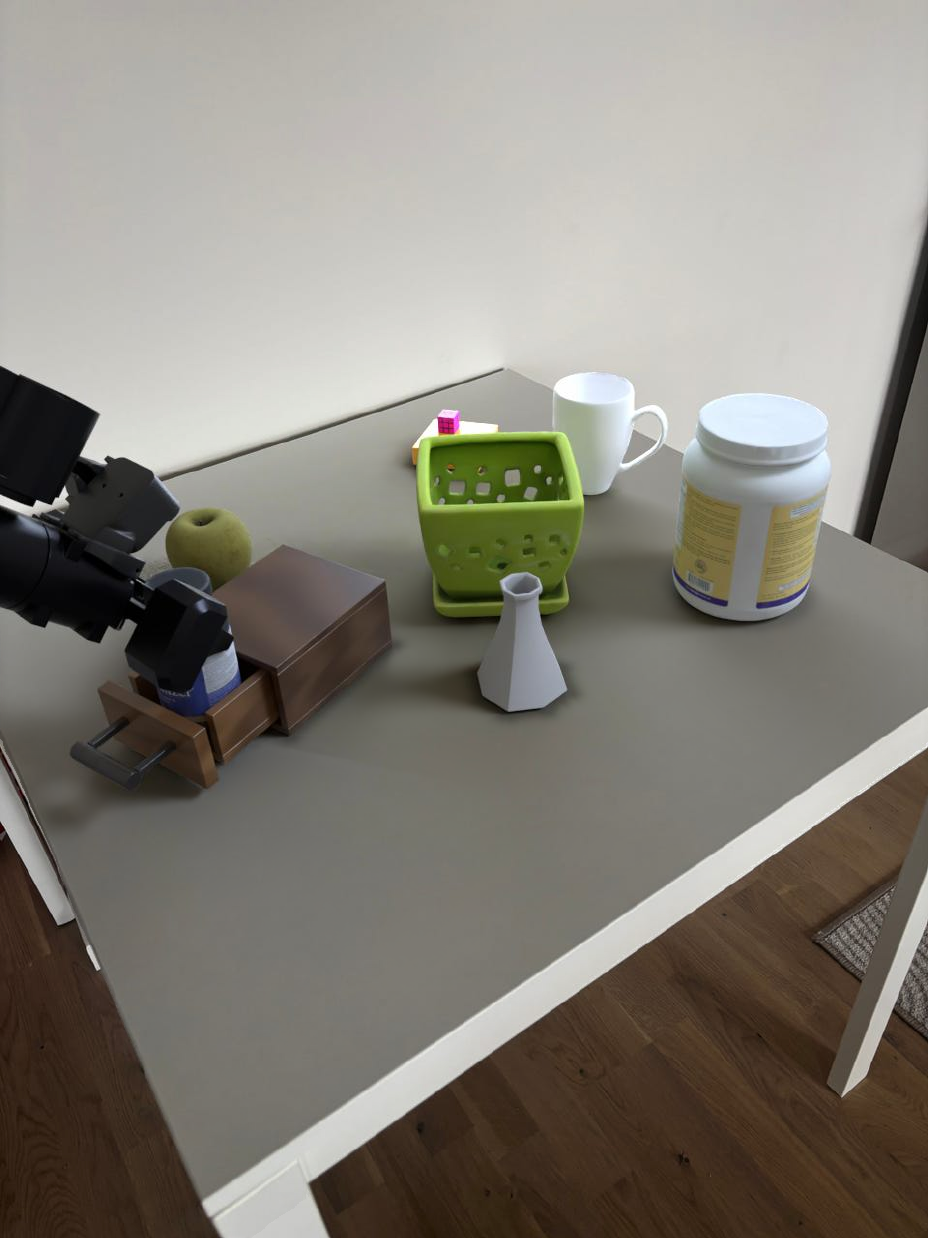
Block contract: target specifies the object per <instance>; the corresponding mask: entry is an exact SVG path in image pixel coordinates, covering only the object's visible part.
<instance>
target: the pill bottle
mask: <svg viewBox="0 0 928 1238" xmlns="http://www.w3.org/2000/svg"><path fill="white" fill-rule="evenodd" d="M171 579H176V580H178V581H181V582H182V581H184V582H186V583H188V584H190V585H191V586H193V587H195V588H196V589H198V590H201V591H202V592H204V593H206V594H208V595H209V596H211V597H212V593H213V592H214V590H213V589H212V586H211V582H210V578H209V576H208V575H207V574H206V573H205V572H204V571H202V570H200V569H196V568H189V567H183V568H181V567H180V568H174V569H173V568H170V569H167V570H166V569H165V570H163V571H160V572H158V573H155V574H154V575H152V576H151V577H149V578H148V579H147V580H145V581H146V582H145V585H147V586H149V587H150V588H152V589H154V590H155V588H156V587H158V586H159V585H161V584H163V583H165V582H167V581H169V580H171ZM214 599H215V598H214ZM216 600H217V599H216ZM145 606H147V604H146V603H145ZM227 616H228V614H227ZM222 628H223V629H224V630H226V631H227V632H228V633H230V634H231V635H232V633H231V628H230V623H229V618H228V617H227V619H226V621H225V623H224V625H223V627H222ZM240 684H242V682H241V677H240V672H239V667H238V662H237V657H236V652H235V648H234V643H233V642H232V644H231V646H230V648H229V649H228V650H226V651H223V652H220V653H217V654H214V655H211V656H208V657H207V659H206V661H205V663H204V665H203V667H202V669H201V671H200V673H199V675H198V677H197V679H196V681H195V683H194V685H193V687H192V689H191V690H190V691H188V692H185V693H183V694H179V693H175V692H171V691H167V690H163V689H159V688H158V687H157V686H156V688H157V692H158V695H159V699H160V703H161V706H162V707H164V708H166V709H168V710H170V711H172V712H174V713H176V714H178V715H180V716H182V717H184V718H186V719H188V720H190V721H192V722H194V723H196V724H198V725H200V726H202V727H204V728H208V723H207V719H206V716H205V712H206V711H207V710H209V709H210V708H211V707H212V706H214V705H215V704H216V703H218V702H219V701H220V700H221V699H223V698H224V697H225V696H226V695H228V694H229V693H230V692H231V691H233V690H234V689H235V688H237V687H238V686H239V685H240Z"/></svg>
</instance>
